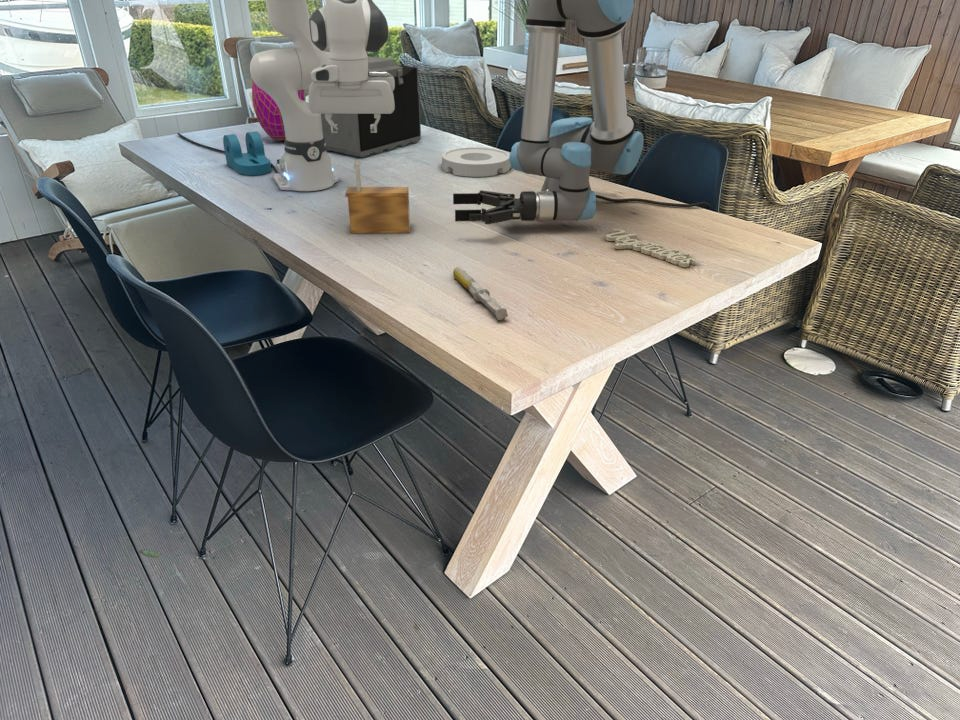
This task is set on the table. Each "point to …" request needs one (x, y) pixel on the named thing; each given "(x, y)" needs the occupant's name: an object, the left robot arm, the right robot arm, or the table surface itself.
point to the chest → (379, 214)
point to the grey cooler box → (390, 127)
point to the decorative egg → (269, 112)
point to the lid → (373, 188)
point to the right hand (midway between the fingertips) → (453, 207)
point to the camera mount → (246, 154)
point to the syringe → (479, 293)
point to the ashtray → (475, 161)
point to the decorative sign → (649, 248)
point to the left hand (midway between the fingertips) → (354, 132)
